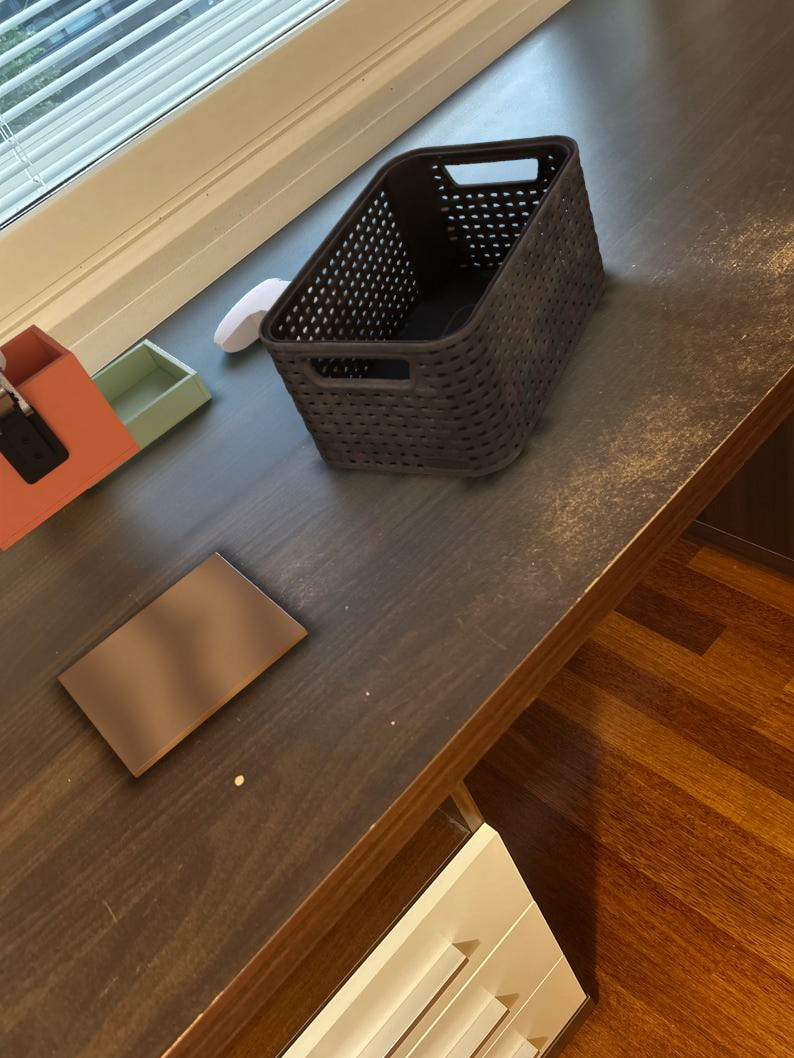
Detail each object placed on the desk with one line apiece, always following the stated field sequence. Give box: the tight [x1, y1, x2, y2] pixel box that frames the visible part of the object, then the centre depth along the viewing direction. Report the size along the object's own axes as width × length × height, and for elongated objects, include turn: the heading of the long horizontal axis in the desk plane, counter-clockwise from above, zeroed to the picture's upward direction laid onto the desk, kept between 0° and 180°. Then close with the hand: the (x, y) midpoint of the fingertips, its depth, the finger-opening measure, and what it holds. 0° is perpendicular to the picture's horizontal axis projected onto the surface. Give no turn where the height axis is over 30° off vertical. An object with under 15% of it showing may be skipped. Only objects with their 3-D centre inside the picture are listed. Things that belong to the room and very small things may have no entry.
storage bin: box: [258, 134, 608, 478], centre depth 87 cm, size 29×19×13 cm
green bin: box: [88, 338, 213, 489], centre depth 100 cm, size 15×11×4 cm
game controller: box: [213, 277, 351, 361], centre depth 102 cm, size 14×4×10 cm
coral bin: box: [0, 323, 140, 552], centre depth 66 cm, size 11×6×8 cm, turn 132°
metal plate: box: [57, 551, 309, 779], centre depth 79 cm, size 16×14×1 cm
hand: (27, 448), depth 67 cm, fingers closed on coral bin, 6 cm apart
